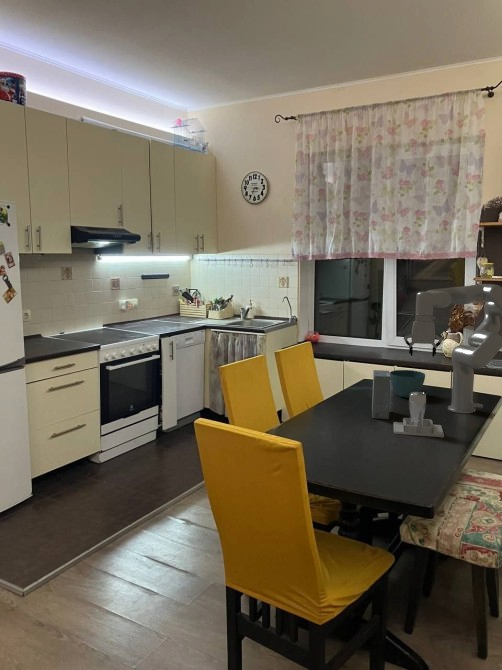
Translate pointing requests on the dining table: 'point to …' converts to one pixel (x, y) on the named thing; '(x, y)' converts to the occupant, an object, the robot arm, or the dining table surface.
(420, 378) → the teal bowl
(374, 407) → the hard drive box
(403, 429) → the tray
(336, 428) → the dining table surface
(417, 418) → the beer glass
